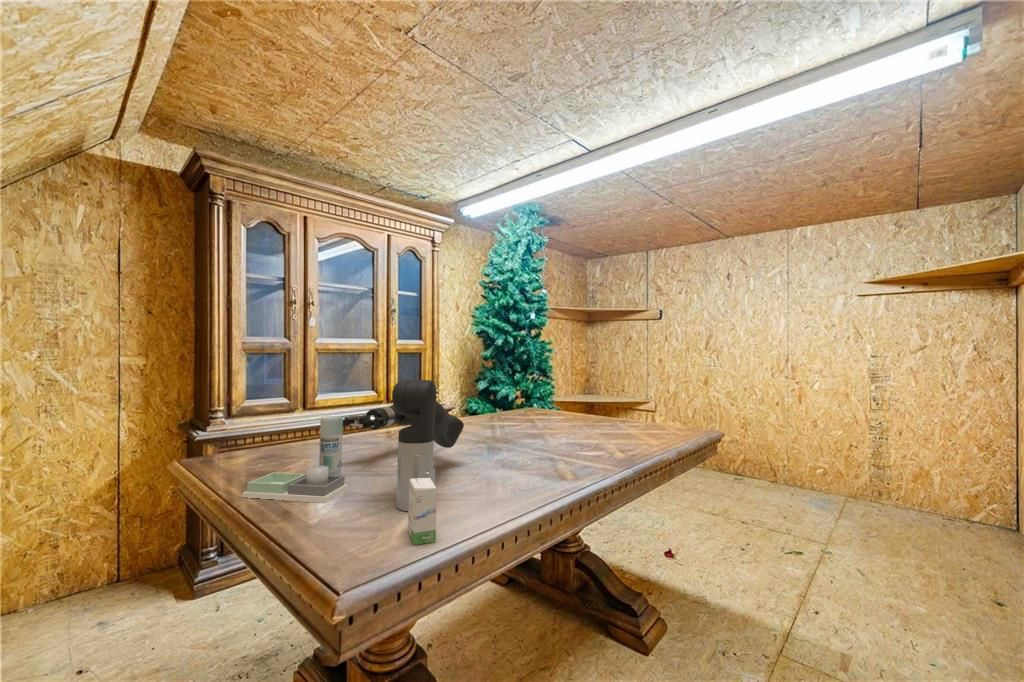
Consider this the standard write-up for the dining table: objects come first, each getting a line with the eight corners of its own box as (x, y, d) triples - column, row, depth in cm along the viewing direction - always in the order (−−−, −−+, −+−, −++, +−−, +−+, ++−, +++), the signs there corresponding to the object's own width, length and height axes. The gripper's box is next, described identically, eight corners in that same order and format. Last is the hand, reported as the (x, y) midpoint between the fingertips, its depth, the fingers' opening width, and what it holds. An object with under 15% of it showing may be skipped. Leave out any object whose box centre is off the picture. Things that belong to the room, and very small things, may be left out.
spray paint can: (342, 478, 137) (344, 415, 138) (339, 484, 131) (341, 418, 132) (320, 479, 136) (323, 415, 137) (316, 485, 130) (318, 418, 130)
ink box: (436, 542, 92) (437, 486, 92) (412, 546, 90) (414, 489, 90) (429, 527, 100) (430, 476, 100) (407, 530, 98) (408, 478, 98)
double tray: (347, 489, 127) (348, 463, 127) (325, 503, 115) (326, 474, 115) (272, 485, 129) (273, 459, 130) (242, 498, 118) (243, 470, 118)
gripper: (397, 429, 158) (370, 436, 143) (363, 426, 162) (334, 433, 147) (397, 408, 159) (371, 414, 143) (364, 406, 163) (335, 411, 147)
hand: (352, 424), depth 145 cm, fingers open, 8 cm apart
